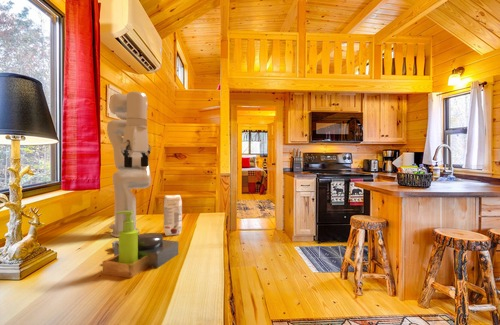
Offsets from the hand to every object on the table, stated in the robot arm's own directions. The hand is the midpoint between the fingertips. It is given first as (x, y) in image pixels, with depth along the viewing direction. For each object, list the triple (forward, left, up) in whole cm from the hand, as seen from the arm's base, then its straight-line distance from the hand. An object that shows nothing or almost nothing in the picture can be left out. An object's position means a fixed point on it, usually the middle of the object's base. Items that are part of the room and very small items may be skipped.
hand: (136, 167), depth 108 cm
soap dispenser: (+8, -15, -34) cm, 39 cm away
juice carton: (0, +27, -34) cm, 44 cm away
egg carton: (-7, +3, -35) cm, 36 cm away
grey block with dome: (+8, -8, -34) cm, 36 cm away
